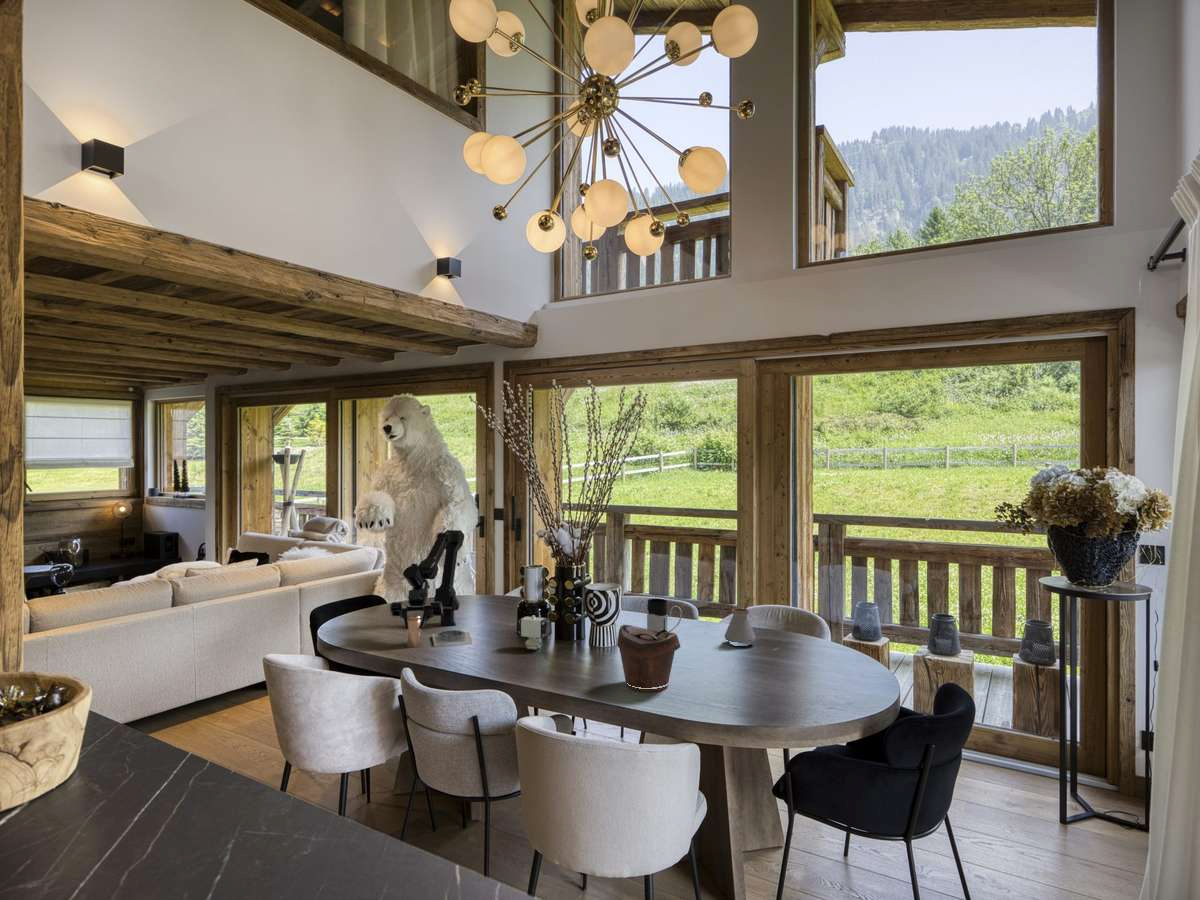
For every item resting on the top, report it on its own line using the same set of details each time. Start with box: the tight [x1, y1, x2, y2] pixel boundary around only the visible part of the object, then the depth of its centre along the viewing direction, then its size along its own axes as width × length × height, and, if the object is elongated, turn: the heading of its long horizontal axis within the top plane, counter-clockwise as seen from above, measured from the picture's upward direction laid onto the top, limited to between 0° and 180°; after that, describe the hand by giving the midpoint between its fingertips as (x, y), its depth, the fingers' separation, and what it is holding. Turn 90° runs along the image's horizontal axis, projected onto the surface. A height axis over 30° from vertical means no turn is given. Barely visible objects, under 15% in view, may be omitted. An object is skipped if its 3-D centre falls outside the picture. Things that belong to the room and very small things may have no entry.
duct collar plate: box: [431, 629, 473, 647], centre depth 263 cm, size 14×14×2 cm
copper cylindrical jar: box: [406, 613, 423, 648], centre depth 255 cm, size 5×5×11 cm
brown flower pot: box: [617, 624, 681, 693], centre depth 212 cm, size 18×20×18 cm
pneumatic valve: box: [515, 615, 551, 651], centre depth 253 cm, size 6×12×12 cm, turn 72°
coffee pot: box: [724, 597, 757, 643], centre depth 263 cm, size 21×12×15 cm, turn 154°
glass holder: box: [646, 598, 683, 633], centre depth 264 cm, size 9×14×15 cm, turn 64°
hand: (413, 628), depth 254 cm, fingers closed on copper cylindrical jar, 5 cm apart
